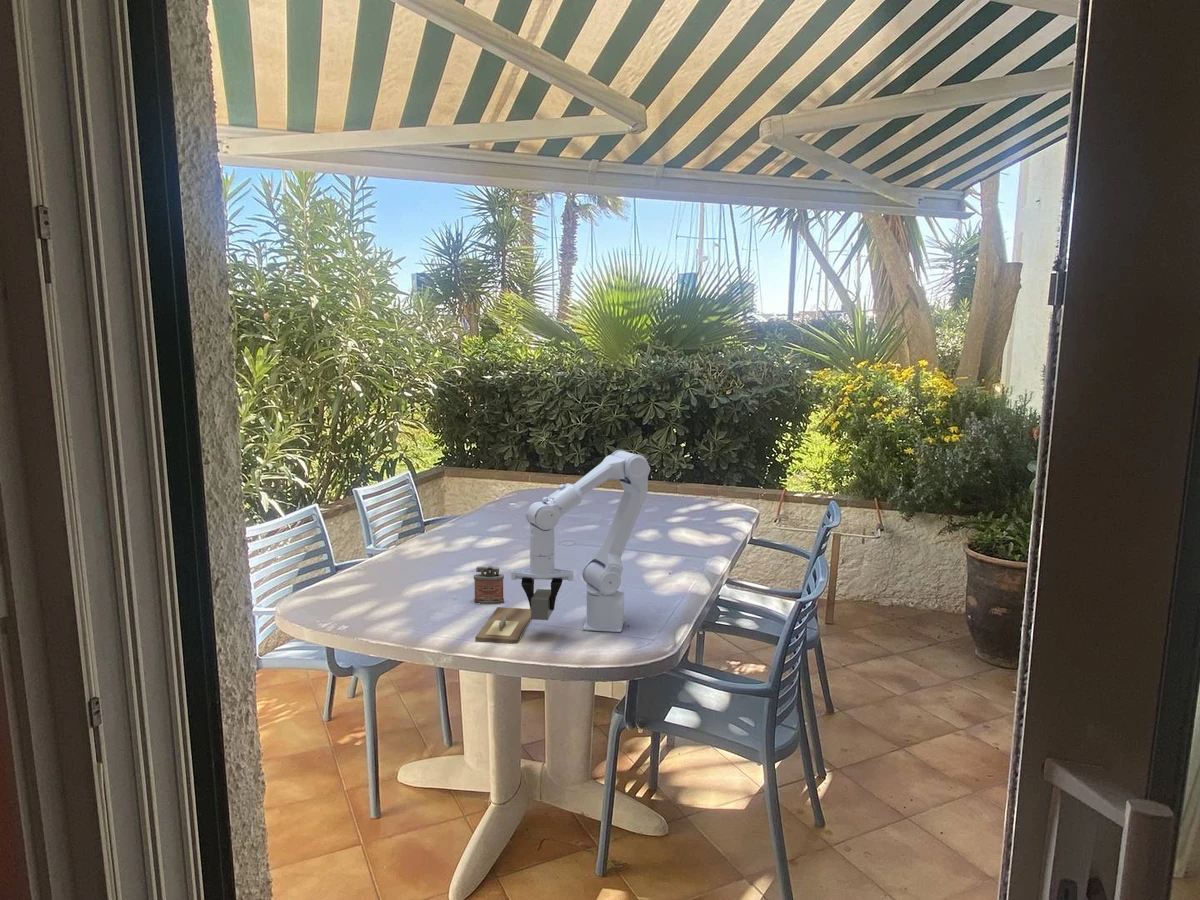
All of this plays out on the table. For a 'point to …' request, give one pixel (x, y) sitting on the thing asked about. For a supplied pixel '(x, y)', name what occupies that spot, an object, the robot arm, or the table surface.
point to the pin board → (505, 625)
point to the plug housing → (541, 604)
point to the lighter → (488, 586)
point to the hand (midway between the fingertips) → (542, 608)
